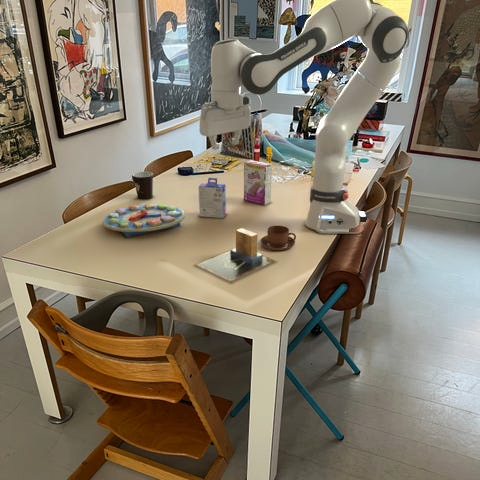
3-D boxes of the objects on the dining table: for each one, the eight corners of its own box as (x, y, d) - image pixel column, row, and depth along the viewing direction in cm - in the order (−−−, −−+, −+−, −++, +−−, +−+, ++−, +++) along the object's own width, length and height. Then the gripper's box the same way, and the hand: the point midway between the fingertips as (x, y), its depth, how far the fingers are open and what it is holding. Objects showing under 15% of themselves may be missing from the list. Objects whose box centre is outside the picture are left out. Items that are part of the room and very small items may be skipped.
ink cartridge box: (226, 213, 193) (226, 177, 185) (223, 218, 188) (222, 182, 181) (203, 212, 195) (201, 176, 187) (199, 216, 190) (197, 180, 182)
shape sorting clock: (167, 205, 201) (166, 191, 198) (197, 229, 179) (197, 214, 176) (94, 218, 189) (92, 203, 185) (117, 246, 166) (115, 229, 163)
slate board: (239, 247, 165) (239, 246, 165) (274, 262, 156) (274, 260, 155) (195, 266, 153) (195, 264, 153) (230, 282, 144) (230, 281, 143)
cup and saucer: (290, 238, 172) (291, 222, 169) (298, 252, 162) (299, 235, 159) (257, 240, 171) (257, 223, 167) (263, 254, 161) (264, 237, 157)
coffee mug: (157, 199, 208) (154, 176, 203) (137, 201, 206) (134, 178, 200) (151, 191, 217) (148, 169, 212) (132, 193, 215) (129, 171, 209)
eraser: (230, 255, 159) (230, 229, 154) (240, 251, 162) (241, 225, 157) (252, 265, 153) (252, 238, 148) (262, 260, 156) (263, 234, 151)
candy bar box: (243, 200, 206) (243, 162, 198) (249, 197, 210) (250, 159, 201) (264, 206, 201) (265, 166, 192) (271, 202, 204) (272, 163, 195)
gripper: (209, 105, 139) (209, 154, 146) (254, 98, 152) (253, 143, 159) (194, 102, 142) (195, 150, 149) (239, 95, 155) (238, 140, 162)
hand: (225, 146), depth 154 cm, fingers open, 8 cm apart
